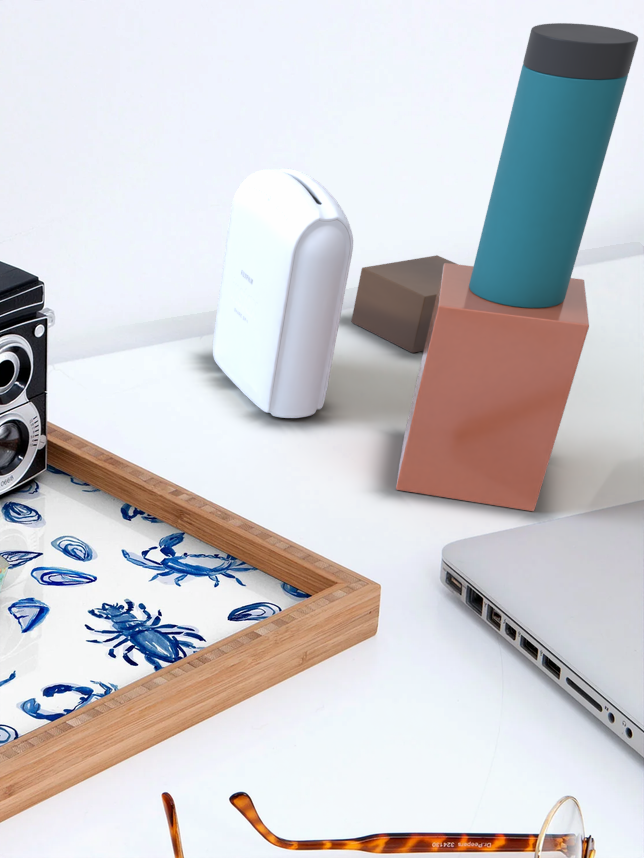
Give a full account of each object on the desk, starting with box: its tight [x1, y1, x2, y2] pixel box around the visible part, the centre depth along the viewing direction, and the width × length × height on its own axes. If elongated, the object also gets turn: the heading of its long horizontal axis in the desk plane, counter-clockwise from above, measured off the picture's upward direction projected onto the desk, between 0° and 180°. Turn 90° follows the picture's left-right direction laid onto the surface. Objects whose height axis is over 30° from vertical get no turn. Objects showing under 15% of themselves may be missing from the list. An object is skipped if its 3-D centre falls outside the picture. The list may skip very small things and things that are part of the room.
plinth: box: [395, 263, 590, 512], centre depth 76 cm, size 7×7×10 cm
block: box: [350, 254, 460, 354], centre depth 96 cm, size 6×6×4 cm
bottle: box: [469, 22, 639, 308], centre depth 70 cm, size 12×5×5 cm
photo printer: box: [212, 167, 354, 419], centre depth 85 cm, size 10×4×12 cm, turn 11°
